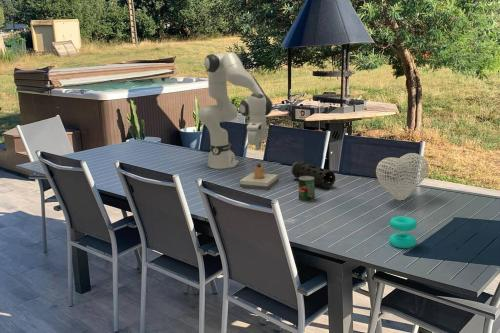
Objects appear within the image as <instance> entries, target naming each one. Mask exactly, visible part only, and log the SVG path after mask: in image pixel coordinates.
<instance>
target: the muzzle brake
mask: <svg viewBox="0 0 500 333" xmlns="http://www.w3.org/2000/svg"><path fill="white" fill-rule="evenodd" d="M290 172H291V174H292V175H293V177H294V178H295V179H298V178H299V177H301V176H312V177H314V178H315V179H314V181H315V182H314V185H315V186H317V187H320V188H324V189H326V190H329V189H330V188H332V186H334V184H335V182H336V174H335V172H333V170H330V169H325V168H322V167H320V166H315V165H312V164H309V163H306V162H304V161H295V162H294V163H293V164H292V165H291V168H290Z"/></svg>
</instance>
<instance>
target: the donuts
mask: <svg viewBox="0 0 500 333" xmlns="http://www.w3.org/2000/svg"><path fill="white" fill-rule="evenodd" d="M389 226H390V227H391V228H392V229H393V230H396V231H398V232H396V233H393V234H391V235H390V236H389V238H388V242H389V244H390V245H392V246H393V247H395V248H397V249H398V248H399V249H410V248H413V247H416V246H415V245H417V239H416V237H415V236H414V235H413V234H410V233H406V232H410V231H413V230H415V229H416V228H417V227H418V222H417V220H416V219H415V218H413V217H409V216H402V215H401V216H395V217H392V218H390V221H389Z"/></svg>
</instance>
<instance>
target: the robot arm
mask: <svg viewBox="0 0 500 333" xmlns="http://www.w3.org/2000/svg"><path fill="white" fill-rule="evenodd" d="M204 67H205V69H206V71H207V72H208V79H207V81H208V84H207V86H208V95H209V97H211V98H212V99H214V100H215V101H216V104H212V105H211V104H210V105H206V106H203V107H200V108H199V111H198V113H197V116H198V119H199V121H200V122H201V123H202V124H203V125H204V126H205V127H206V128H207V130H208V132H209V139H210V144H209V150H210V152H208V163H206V166H207V167H209V168H211V169H215V170H216V169H217V170H219V169H220V170H222V169H231V168H235V167H236V166H237V165H238V163H239V160H238V159H236V155H235V153H234V152H233V151H232V150H231V146H232V144H231V143H230V142H229V133H228V131H227V130H226V129H225V128H223V127H221V125H220V123H227V122H231V121H233V120H235V119H236V118H237V117H238V109H239V113H240V115H242V116H243V117H246V118H247V117H249V122H248V123H247V126H246V131H247V132H246V133H247V144H248V145H249V146H254V147H255V151H260V150H261V149H262V144H263V141H264V140H266V139H268V135H269V134H268V126H267V116H269V115H270V114H271V112H272V111H273V109H274V108H273V102H272V100H271V99H270V98H269V97H268V95H266V93H265V91H264V90H263V88H262V87H261V85H260V84H259V82H258V80H257V79H256V78H255V77H254V76H253V75H252V74H250V73H249V72H248V71H247V69H245V67H244V64H243V62H242V59H241V56H240V54H239V53H236V52H221V53H220V52H219V53H210V54H207V55H206V57H205V58H204ZM227 81H228V82H229V83H230V84H232V85H234V86H236V87H237V86H238V87H243V88H246V89H248V90H250V91H251V93H252V94H250V95H249V97H248V98H245V99H242V100H241V101H240V103H239V106H238V107H239V108H238V109H237V106H236V105H234V104H233V103H232V101H231V100H230V99H229V96H228V95H229V94H228V89H227V88H228V86H227Z"/></svg>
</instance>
